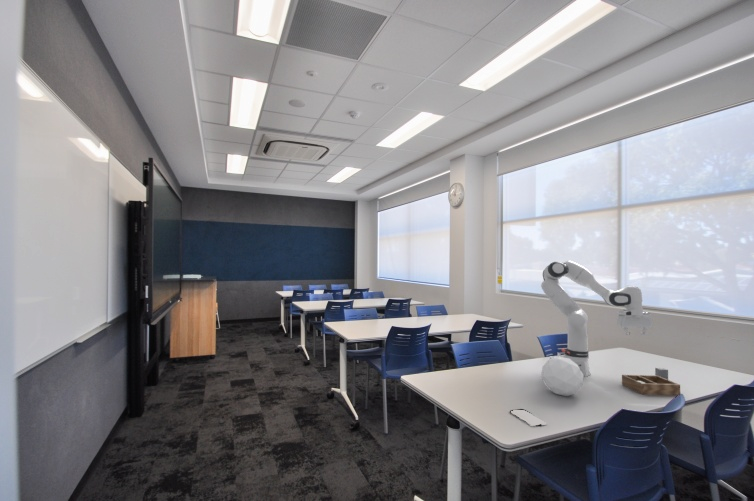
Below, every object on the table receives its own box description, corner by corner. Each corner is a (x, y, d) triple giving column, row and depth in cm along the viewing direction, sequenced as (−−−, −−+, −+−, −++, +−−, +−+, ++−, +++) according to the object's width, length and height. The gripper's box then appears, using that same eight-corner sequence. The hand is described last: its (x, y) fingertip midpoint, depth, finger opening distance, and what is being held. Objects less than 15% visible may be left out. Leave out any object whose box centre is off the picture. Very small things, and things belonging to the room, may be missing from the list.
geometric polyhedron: (572, 410, 178) (591, 387, 167) (532, 391, 185) (547, 367, 173) (574, 383, 192) (591, 360, 181) (537, 366, 199) (551, 342, 188)
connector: (660, 385, 198) (660, 369, 199) (655, 383, 202) (655, 367, 202) (668, 385, 198) (668, 369, 199) (663, 383, 202) (663, 367, 202)
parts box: (642, 395, 182) (642, 383, 183) (622, 385, 197) (621, 374, 198) (680, 396, 182) (680, 384, 183) (657, 386, 197) (657, 375, 198)
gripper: (647, 311, 220) (648, 334, 219) (614, 311, 220) (615, 334, 219) (654, 312, 214) (656, 335, 212) (621, 312, 214) (622, 335, 212)
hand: (635, 334), depth 216 cm, fingers open, 8 cm apart
